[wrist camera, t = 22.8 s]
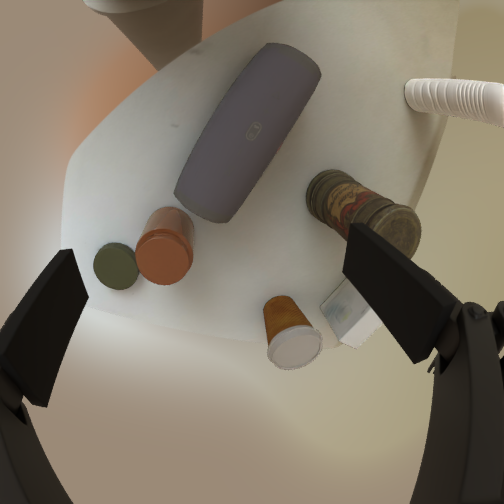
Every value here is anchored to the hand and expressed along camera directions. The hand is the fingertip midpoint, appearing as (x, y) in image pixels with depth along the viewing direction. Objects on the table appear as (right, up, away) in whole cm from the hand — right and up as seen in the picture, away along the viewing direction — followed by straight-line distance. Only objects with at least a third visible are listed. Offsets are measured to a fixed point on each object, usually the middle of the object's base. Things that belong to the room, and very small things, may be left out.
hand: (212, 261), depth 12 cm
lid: (-20, -2, +28) cm, 35 cm away
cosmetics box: (+21, -8, +42) cm, 47 cm away
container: (+15, +10, +31) cm, 36 cm away
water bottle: (+32, +28, +25) cm, 49 cm away
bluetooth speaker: (0, +18, +24) cm, 30 cm away
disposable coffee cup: (+7, -10, +40) cm, 42 cm away
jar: (-11, +4, +29) cm, 31 cm away
